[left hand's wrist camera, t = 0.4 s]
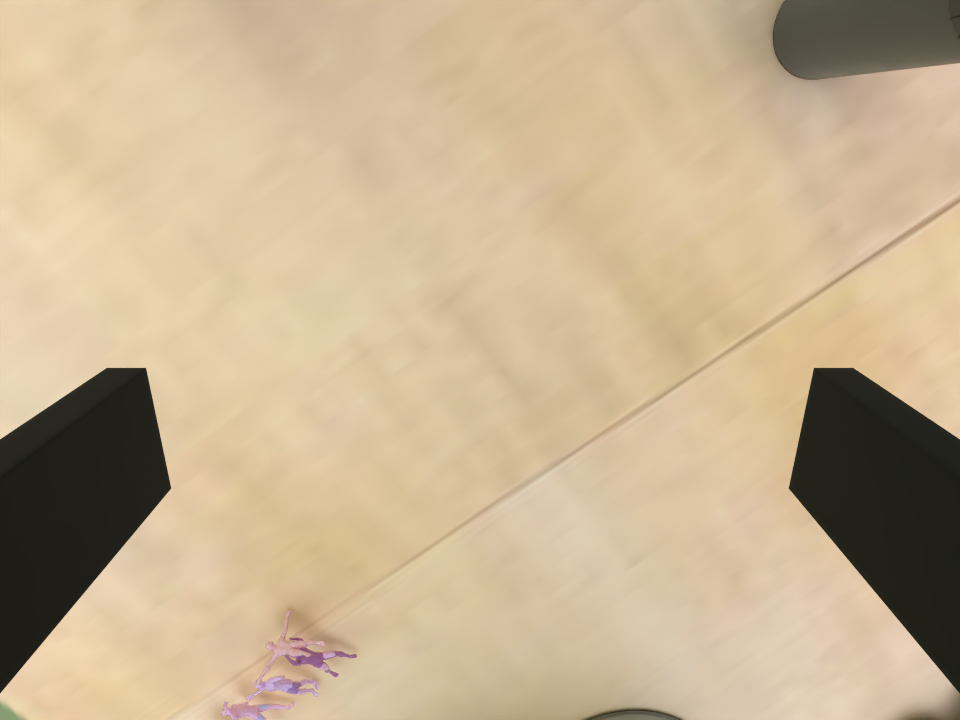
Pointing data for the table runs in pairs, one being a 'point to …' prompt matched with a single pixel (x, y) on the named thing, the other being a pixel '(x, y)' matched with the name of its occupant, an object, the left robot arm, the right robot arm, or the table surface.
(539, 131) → the table surface
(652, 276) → the table surface
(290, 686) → the people figure
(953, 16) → the lid
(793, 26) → the dark grey cylinder
